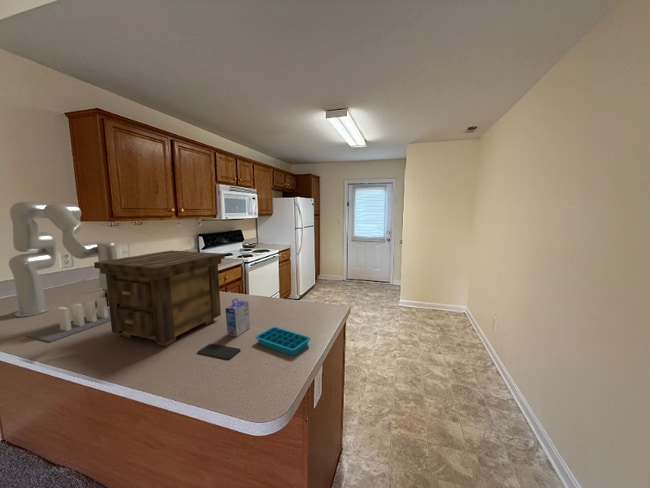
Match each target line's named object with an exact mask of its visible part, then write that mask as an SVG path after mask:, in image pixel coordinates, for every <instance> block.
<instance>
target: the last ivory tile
mask: <svg viewBox="0 0 650 488" xmlns="http://www.w3.org/2000/svg"><path fill="white" fill-rule="evenodd" d="M57 317H58V322H59V323H58V325H60V329H61V330H65V331H68V330H71V322H70V321H71V314H70V309H69V307H65V306H59V307H57Z"/></svg>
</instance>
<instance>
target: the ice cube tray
mask: <svg viewBox="0 0 650 488" xmlns="http://www.w3.org/2000/svg"><path fill="white" fill-rule="evenodd" d="M255 339H256V340H257V343H258V345H261V346H263V347H267V348H269V349H272V350H275V351H277V352H280V353H283V354H287V355H289V356H295V355H297V354H298V353H299V352H301V351H302V350H304V349H305V348H306V347H307V346H308V345H309V341H310V340H311V337H310V336H308V335H304V334H301V333H297V332H294V331H291V330H287V329H285V328H281V327H278V326H272V327H271V328H269V329H266V330H264V331H263V332H261V333H259V334H257V335H255Z"/></svg>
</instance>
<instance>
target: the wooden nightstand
mask: <svg viewBox="0 0 650 488" xmlns="http://www.w3.org/2000/svg"><path fill="white" fill-rule="evenodd" d="M225 255H226V253H219V252H204V251H188V250H187V251H184V250H183V251H182V250H166V251H160V252H153V253H146V254H142V255H141V254H140V255H134V256H128V257H127V256H125V257H121V258H117V259H113V260H107V261H100V262H99V261H95V262H93V264H94V268H95V269H97V270H100V273H102V274H106V282H107V291H108V300H109V305H108V307H109V309H110V318H111V321H110V325H111V333H113V334H118V335H119V334H121V335H122V337H126V338H132V337H134V336H135V337H138V338H139V337H140V338H144V339H148V340H154V341H155V343H156V344H157V345H161V346H164V347H167V346H168V345H170V344H173V343H174V342H176V341H177V337H178V336H179V335H181V334H184V333H186V332H188V331H190V330H192V329H193V328H194V329H195V327H197V326H199V325H208V324H211V323H212V322H214V320H215V319H216V318H218V317H220V316H221V315H222V313H221V295H220V282H219V281H220V279H219V277H220V276H219V265H220V264H222V260H224V259H225V258H226V256H225Z"/></svg>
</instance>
